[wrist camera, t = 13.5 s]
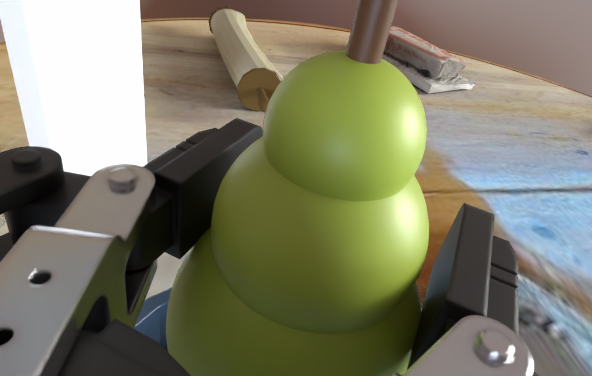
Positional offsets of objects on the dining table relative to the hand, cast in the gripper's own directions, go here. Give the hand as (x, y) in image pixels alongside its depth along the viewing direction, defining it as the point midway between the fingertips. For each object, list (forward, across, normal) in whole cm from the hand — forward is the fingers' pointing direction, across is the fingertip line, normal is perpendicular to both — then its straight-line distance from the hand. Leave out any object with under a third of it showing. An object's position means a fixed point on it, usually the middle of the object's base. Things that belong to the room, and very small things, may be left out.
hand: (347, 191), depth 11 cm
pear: (-2, 0, +6) cm, 6 cm away
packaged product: (+62, +6, +14) cm, 64 cm away
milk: (+9, +20, +15) cm, 27 cm away
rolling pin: (+40, +26, +15) cm, 50 cm away
